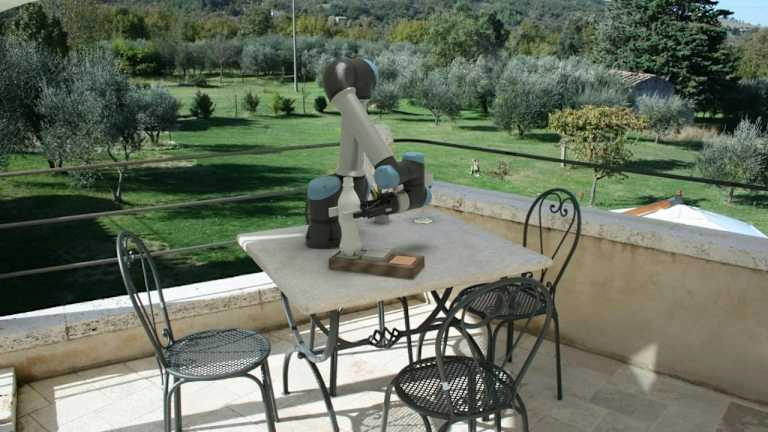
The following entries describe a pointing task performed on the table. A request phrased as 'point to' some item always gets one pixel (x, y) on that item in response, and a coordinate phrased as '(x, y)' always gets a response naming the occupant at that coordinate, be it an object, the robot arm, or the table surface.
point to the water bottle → (350, 228)
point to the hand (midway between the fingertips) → (336, 214)
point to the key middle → (376, 255)
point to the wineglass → (429, 183)
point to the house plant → (382, 217)
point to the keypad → (378, 266)
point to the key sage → (351, 256)
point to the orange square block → (403, 260)
